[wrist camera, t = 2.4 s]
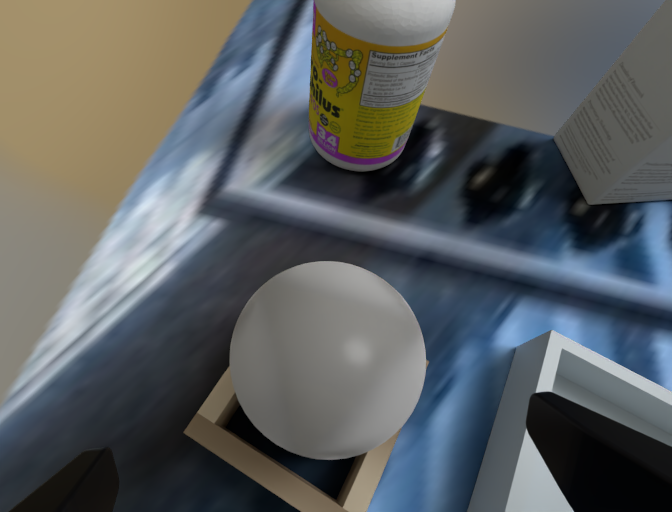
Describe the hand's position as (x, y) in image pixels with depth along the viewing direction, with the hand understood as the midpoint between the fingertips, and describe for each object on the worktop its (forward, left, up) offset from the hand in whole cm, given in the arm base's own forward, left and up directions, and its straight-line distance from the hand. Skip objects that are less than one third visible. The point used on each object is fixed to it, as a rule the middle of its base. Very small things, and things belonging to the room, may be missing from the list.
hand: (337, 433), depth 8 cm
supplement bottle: (+17, +7, -10) cm, 21 cm away
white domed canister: (+1, +1, -10) cm, 10 cm away
